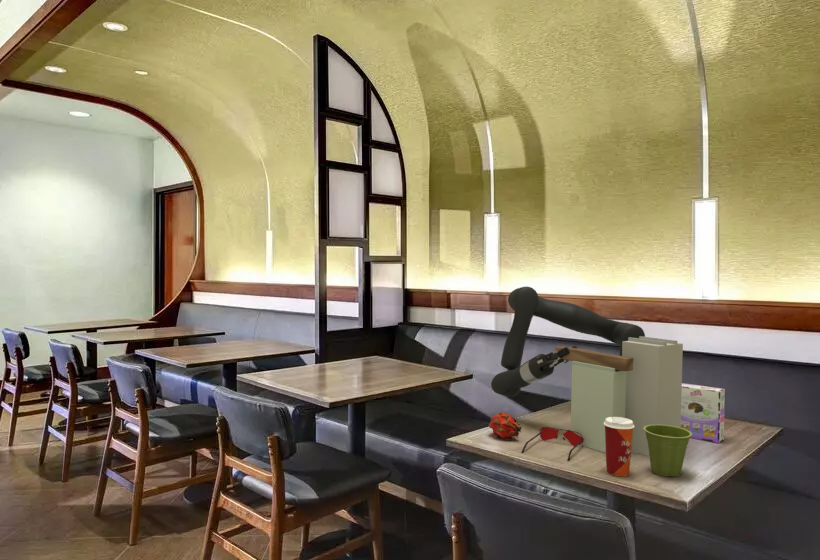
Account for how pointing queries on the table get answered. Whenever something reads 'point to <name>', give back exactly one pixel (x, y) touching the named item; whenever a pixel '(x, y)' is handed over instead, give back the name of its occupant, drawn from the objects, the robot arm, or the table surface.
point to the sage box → (596, 401)
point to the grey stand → (652, 386)
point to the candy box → (703, 412)
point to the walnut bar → (598, 358)
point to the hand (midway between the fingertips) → (572, 349)
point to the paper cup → (618, 445)
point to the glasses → (552, 433)
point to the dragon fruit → (504, 425)
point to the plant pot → (667, 448)
